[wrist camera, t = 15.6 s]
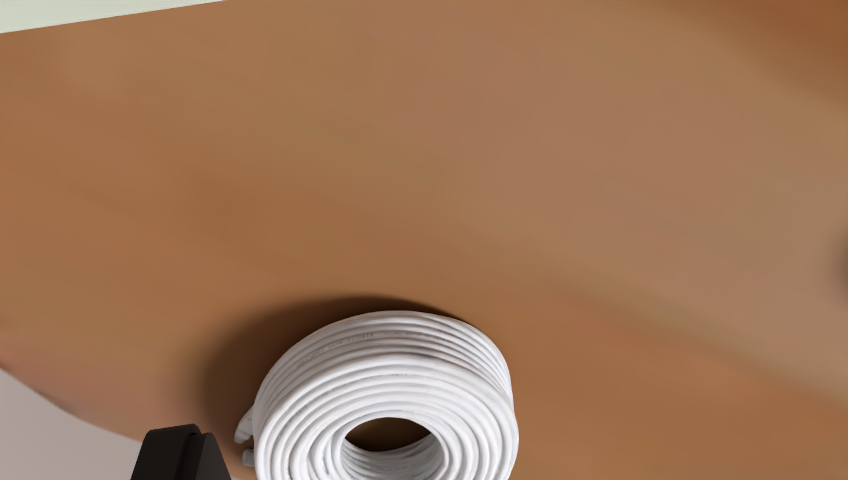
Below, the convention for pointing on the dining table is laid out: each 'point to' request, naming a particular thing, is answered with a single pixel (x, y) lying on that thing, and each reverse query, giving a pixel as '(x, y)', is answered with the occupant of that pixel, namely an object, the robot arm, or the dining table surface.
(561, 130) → the dining table surface
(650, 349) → the dining table surface
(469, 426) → the cable
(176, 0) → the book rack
